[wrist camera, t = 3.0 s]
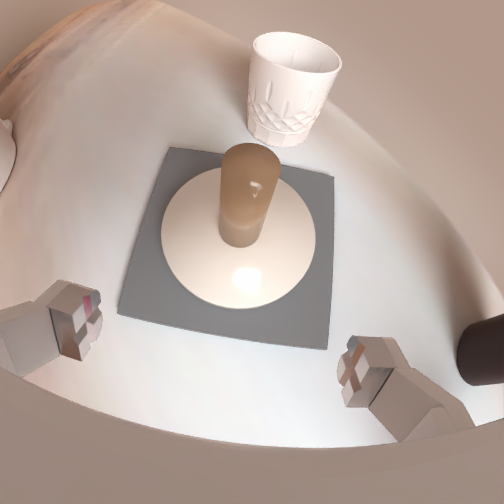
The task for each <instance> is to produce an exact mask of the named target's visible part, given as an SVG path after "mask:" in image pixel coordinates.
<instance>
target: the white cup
mask: <svg viewBox="0 0 504 504" xmlns="http://www.w3.org/2000/svg"><path fill="white" fill-rule="evenodd" d="M341 66H342V61H341V59H340V57H339V55H338V54H337V53H336V52H335V51H334V50H333V49H332V48H330V47H329V46H327V45H326V44H324V43H322V42H320V41H318V40H316V39H314V38H311V37H308V36H305V35H301V34H297V33H291V32H269V33H264V34H261V35H259V36H257V37H256V38H255V39H254V41H253V43H252V53H251V63H250V73H249V87H248V101H247V105H248V112H247V126H248V129H249V131H250V132H251V133H252V135H253V136H254V137H255V138H256V139H258V140H260V141H261V142H263V143H265V144H267V145H270V146H275V147H279V148H286V147H295V146H297V145H298V144H300V143H302V142H303V141H305V139H306V137H307V135H308V133H309V130H310V128H311V127H312V125H313V123H314V122H315V121H316V119H317V116H318V115H319V113H320V111H321V109H322V106H323V105H324V103H325V101H326V99H327V97H328V94H329V92H330V90H331V88H332V86H333V83H334V82H335V79H336V77H337V75H338V73H339V71H340V69H341Z"/></svg>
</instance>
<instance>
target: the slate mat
mask: <svg viewBox="0 0 504 504" xmlns="http://www.w3.org/2000/svg"><path fill="white" fill-rule="evenodd" d="M223 156H224V154H218V153H211V152H205V151H198V150H190V149H183V148H174V147H170V148H169V151H168V153H167V156H166V158H165V161H164V163H163V166H162V168H161V171H160V173H159V176H158V179H157V181H156V184H155V187H154V190H153V192H152V195H151V198H150V201H149V204H148V207H147V210H146V213H145V216H144V219H143V222H142V225H141V228H140V231H139V234H138V237H137V241H136V244H135V247H134V250H133V254H132V257H131V261H130V264H129V268H128V272H127V275H126V279H125V283H124V287H123V290H122V294H121V299H120V303H119V307H118V311H117V313H118V314H119V315H123V316H127V317H131V318H135V319H140V320H144V321H148V322H152V323H157V324H161V325H166V326H171V327H175V328H180V329H185V330H190V331H195V332H201V333H206V334H212V335H217V336H223V337H229V338H235V339H241V340H248V341H254V342H261V343H268V344H276V345H284V346H292V347H300V348H309V349H319V350H327V346H328V335H329V323H330V310H331V295H332V277H333V253H334V177H333V176H328V175H324V174H320V173H316V172H312V171H307V170H303V169H298V168H294V167H289V166H284V165H281V172H280V175H279V178H280V179H281V180H283V181H284V182H286V183H287V184H288V185H289V186H291V187H292V188H293V189H294V190H295V191H296V192H297V193H298V194H299V196H300V197H301V198H302V199H303V201H304V202H305V204H306V206H307V207H308V209H309V212H310V214H311V216H312V220H313V223H314V228H315V250H314V254H313V258H312V261H311V263H310V266H309V268H308V270H307V271H306V273H305V275H304V276H303V278H302V279H301V280H300V281H299V282H298V283H297V285H296V286H295V287H294V288H293V289H292V290H290V291H289V292H288V293H287V294H286V295H285V296H283V297H281V298H280V299H278V300H277V301H275V302H273V303H270V304H268V305H265V306H262V307H259V308H254V309H248V310H233V309H225V308H221V307H216V306H214V305H211V304H208V303H206V302H204V301H202V300H200V299H198V298H197V297H195V296H194V295H192V294H191V293H190V292H188V291H187V290H186V289H185V288H184V287H183V286H182V285H181V284H180V283H179V281H178V280H177V279H176V277H175V276H174V274H173V273H172V271H171V269H170V267H169V265H168V263H167V260H166V257H165V255H164V252H163V247H162V241H161V227H162V221H163V217H164V214H165V211H166V208H167V206H168V204H169V203H170V201H171V199H172V198H173V196H174V195H175V194H176V192H177V191H178V190H179V189H180V188H181V187H182V186H183V185H184V184H186V183H187V182H188V181H189V180H191V179H193V178H194V177H196V176H197V175H200V174H202V173H204V172H206V171H209V170H212V169H216V168H221V164H222V158H223Z"/></svg>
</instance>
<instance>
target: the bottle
mask: <svg viewBox="0 0 504 504" xmlns="http://www.w3.org/2000/svg"><path fill="white" fill-rule="evenodd" d="M458 366H459V370H460V373H461V376H462V378H463V379H464V380H465V382H466V383H468V384H470V385H472V386H478V385H490V384H499V383H504V314H501V315H498V316H495V317H492V318H489V319H486V320H483V321H480V322H477V323H474V324H472V325H470V326H469V327H468V328H467V329H466V330H465V331H464V333H463V335H462V337H461V339H460V343H459V347H458Z"/></svg>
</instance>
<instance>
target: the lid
mask: <svg viewBox="0 0 504 504" xmlns="http://www.w3.org/2000/svg"><path fill="white" fill-rule="evenodd" d="M280 172H281V164H280V161H279V159H278V157H277V156H276V155H275V153H273V152H272V151H271V150H270V149H268V148H267V147H265V146H262V145H259V144H255V143H243V144H238V145H236V146H233V147H232V148H230V149H229V150H228V151H227V152H226V153H225V154H224V156H223V158H222V164H221V168H216V169H212V170H209V171H206V172H204V173H202V174H200V175H197V176H196V177H194V178H193V179H191V180H189V181H188V182H187V183H186V184H184V185H183V186H182V187H181V188H180V189H179V190H178V191H177V192H176V194H175V195H174V196H173V198H172V199H171V201H170V203H169V204H168V206H167V208H166V211H165V214H164V217H163V221H162V227H161V241H162V247H163V252H164V255H165V257H166V260H167V263H168V265H169V267H170V269H171V271H172V273H173V274H174V276H175V277H176V279H177V280H178V281H179V283H180V284H181V285H182V286H183V287H184V288H185V289H186V290H187V291H188V292H190V293H191V294H192V295H194V296H195V297H197V298H198V299H200V300H202V301H204V302H206V303H208V304H211V305H214V306H216V307H221V308H225V309H233V310H248V309H254V308H259V307H262V306H265V305H268V304H270V303H273V302H275V301H277V300H278V299H280V298H281V297H283V296H285V295H286V294H287V293H288V292H289V291H290V290H292V289H293V288H294V287H295V286H296V285H297V283H298V282H299V281H300V280H301V279H302V278H303V276H304V275H305V273H306V271H307V270H308V268H309V266H310V263H311V261H312V258H313V254H314V250H315V228H314V223H313V220H312V216H311V214H310V212H309V209H308V207H307V206H306V204H305V202H304V201H303V199H302V198H301V197H300V196H299V194H298V193H297V192H296V191H295V190H294V189H293V188H292V187H291V186H289V185H288V184H287V183H286V182H284V181H283V180H281V179H280V178H279V175H280Z"/></svg>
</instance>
